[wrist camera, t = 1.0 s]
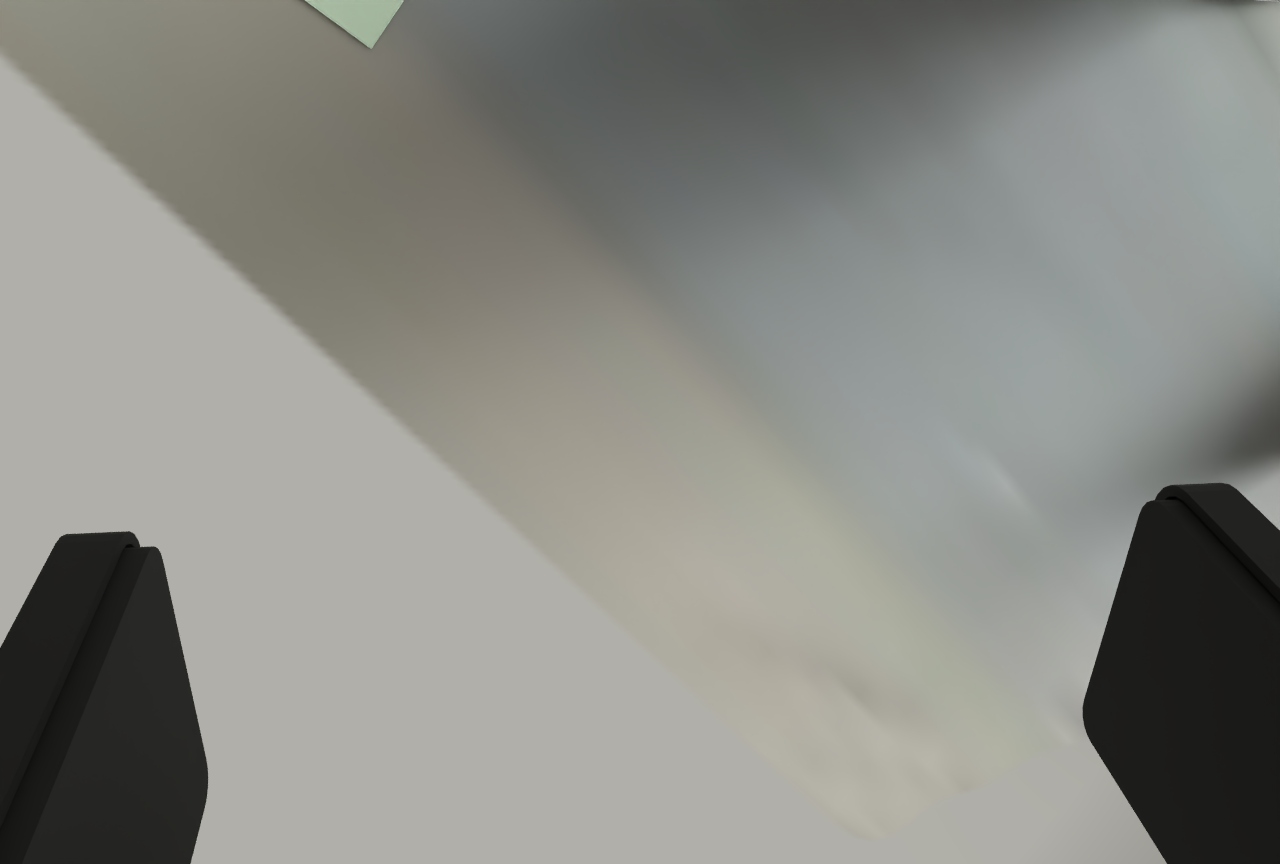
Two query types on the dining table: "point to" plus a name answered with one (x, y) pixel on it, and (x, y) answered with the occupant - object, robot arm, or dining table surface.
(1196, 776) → the robot arm
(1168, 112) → the dining table surface
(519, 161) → the dining table surface
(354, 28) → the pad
